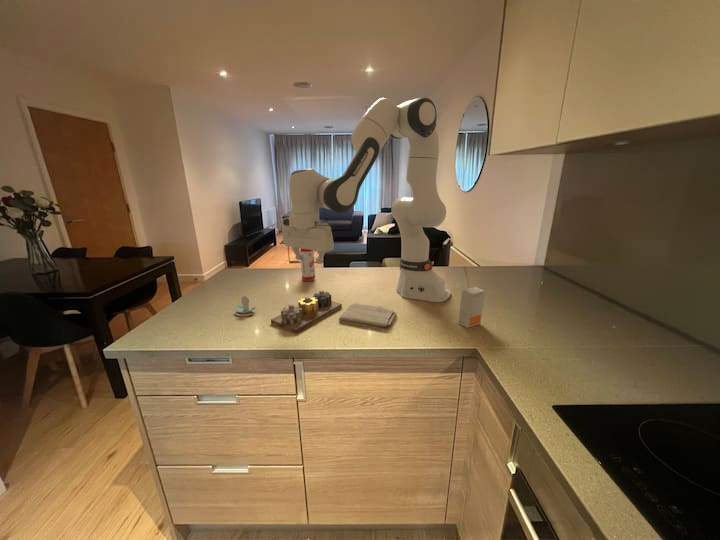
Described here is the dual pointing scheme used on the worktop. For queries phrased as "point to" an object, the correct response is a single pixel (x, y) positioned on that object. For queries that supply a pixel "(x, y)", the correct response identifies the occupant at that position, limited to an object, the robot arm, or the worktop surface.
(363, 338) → the worktop surface
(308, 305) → the brass gear
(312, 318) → the gear board
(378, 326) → the washcloth
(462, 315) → the skincare box
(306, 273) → the beer can
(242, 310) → the pacifier
